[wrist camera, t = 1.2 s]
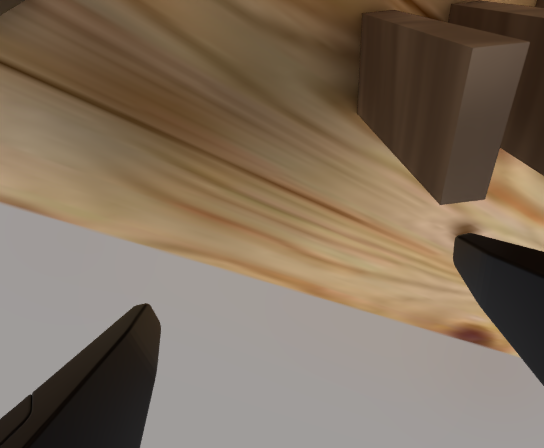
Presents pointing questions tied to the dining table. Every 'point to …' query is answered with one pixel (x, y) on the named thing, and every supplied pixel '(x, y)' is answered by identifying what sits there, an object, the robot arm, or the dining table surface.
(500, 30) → the domino
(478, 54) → the domino
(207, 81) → the dining table surface
